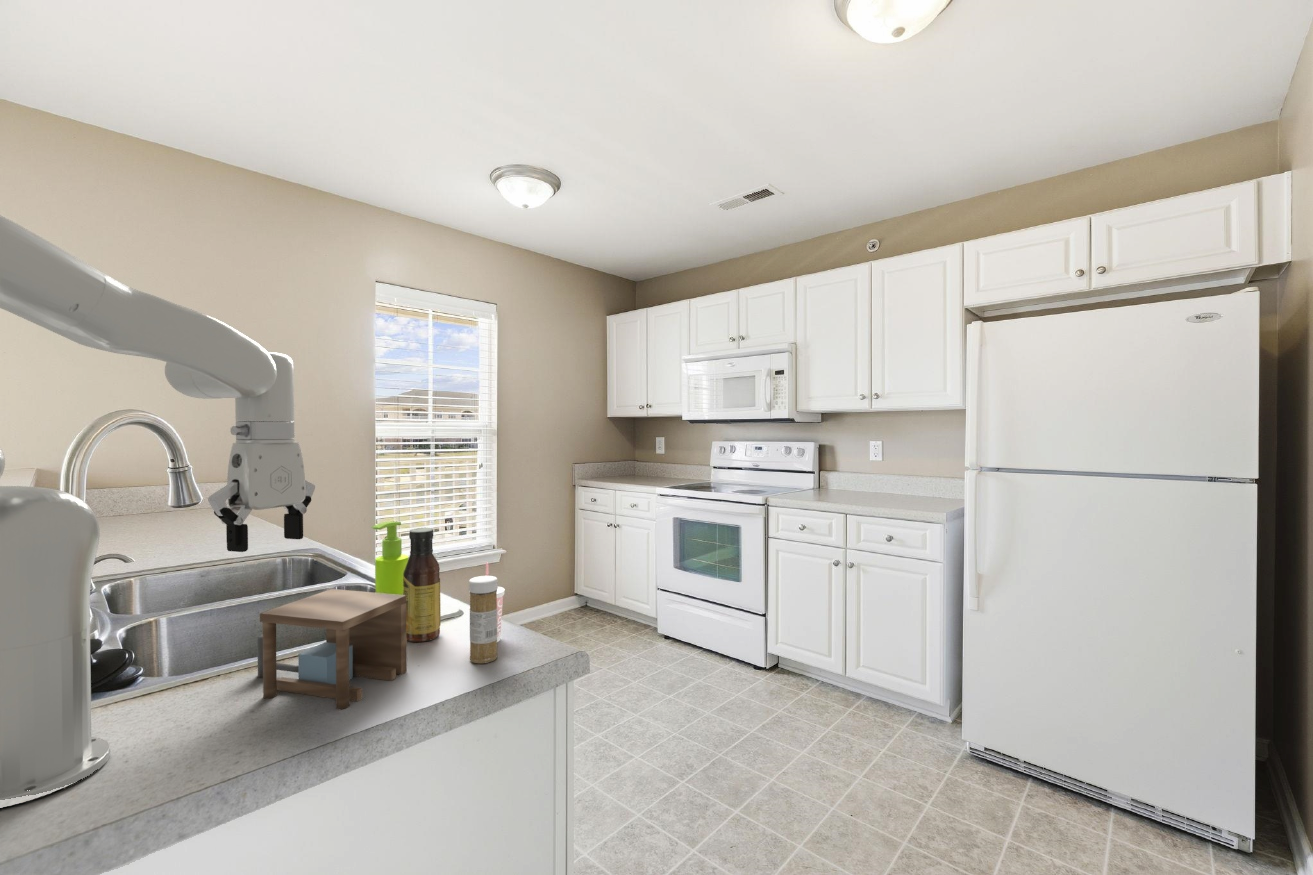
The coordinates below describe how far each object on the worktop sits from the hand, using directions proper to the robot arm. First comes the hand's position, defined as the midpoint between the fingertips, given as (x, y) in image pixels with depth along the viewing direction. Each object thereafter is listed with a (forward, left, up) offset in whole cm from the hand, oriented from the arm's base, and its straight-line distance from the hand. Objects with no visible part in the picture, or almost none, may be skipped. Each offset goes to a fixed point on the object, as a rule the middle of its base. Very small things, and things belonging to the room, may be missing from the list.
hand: (267, 544), depth 91 cm
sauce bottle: (+20, -13, -20) cm, 31 cm away
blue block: (0, -6, -20) cm, 21 cm away
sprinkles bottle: (+14, -29, -20) cm, 38 cm away
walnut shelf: (0, -13, -20) cm, 24 cm away
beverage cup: (+22, -25, -20) cm, 39 cm away
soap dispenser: (+24, -3, -20) cm, 31 cm away
